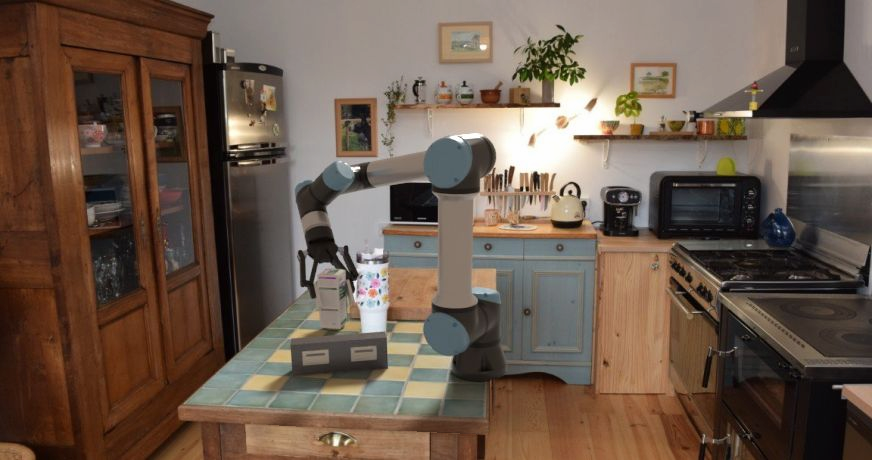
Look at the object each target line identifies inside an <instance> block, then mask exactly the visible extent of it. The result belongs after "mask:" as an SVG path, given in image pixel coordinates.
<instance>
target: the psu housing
mask: <svg viewBox="0 0 872 460" xmlns="http://www.w3.org/2000/svg"><path fill="white" fill-rule="evenodd" d="M290 357H291V358H290V359H291V372H292V377H300V376H301V377H302V376H313V375H325V374H335V373H338V374H339V373H346V372H350V373H351V372H358V371H361V372H362V371H371V370H373V371H374V370H383V369H384V368H385V369H389V363H388V362H389V361H388V359H389V358H388V337H387V332H386V331H374V332H371V331H370V332H362V333H361V332H360V333H348V334H347V333H345V334H334V335H319V336H307V337H306V336H305V337H294V338H293V337H292V338H291V339H290ZM385 369H384V370H385Z"/></svg>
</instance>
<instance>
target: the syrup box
mask: <svg viewBox="0 0 872 460" xmlns="http://www.w3.org/2000/svg"><path fill="white" fill-rule="evenodd" d="M316 276H317V277H316V279H317V286H318V290H319V294H320V299H321V303H322V308H321V311H318V313H319V328H323V329H326V328H331V329H340V330H342V329H341V327H342V326H344V325H345V326H346V324H347V323H348V322H349V313H348V304H347V300H348V296H347V292H346V272H345V270H344V269H336V268H335V267H333V268H325V269H323V271H320V273H318V274H317V275H316ZM345 326H344V327H345Z"/></svg>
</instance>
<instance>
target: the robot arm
mask: <svg viewBox="0 0 872 460" xmlns="http://www.w3.org/2000/svg"><path fill="white" fill-rule="evenodd" d="M496 161H497V152H496V148H495V145H494V144H493V142H492V141H491V140H490V139H489V138H488V137H487V136H486V135H483V134H480V133H478V132H477V133H476V132H469V133H463V134H452V135H446V136H443V137H442V138H438V139H436V140H435V141H433V142H432V143H431V144H430V145H429V146H428V148H427V149H426V150H422V151H417V152H411V153H407V154H402V155H398V156H397V155H395V156H392V157H387V158H386V157H385V158H382V159H377V160H372V161H366V162H365V161H364V162H360V163H356V164H352V165H349V164H348V163H347V162H343V161H341V160H334V161H333V162H332V163H331V164H329V165H327V166H326V168H324V170H323V171H322V172H321V173H320V174H319V175H318V176H317V177H316V178H315V179H305V180H303V181H302V182H299V183H298V184H297V185H296V186H295V188H294V195H295V203H296V206H297V210H298V214H299V219H300V223H301V228H302V231H303V232H302V233H303V235H304V240H305V243H306V244H305V245H306V249H305V250H302V249H299V250H297V255H296V259H297V260H298V263H299V285H300V288H306V289H307V290H308V292H309V297H310V298H311V300H315V306H316V310H317V312H319V311H321V308H322V303H321V299H320V294H319V290H318V283H314V282H315V278H316V276H317V275H316V273H317V270H318V266H319V265H320V264H324V263H326V264H327V263H328V264H329V263H330V265H331V266H333V268H334V269H344V270H345V272H346V292H347V300H348V305H349V307H350V308H351V307H353V306H354V305H355V297H354V294H355V292H356V286H355V283H354V282H356V281H357V280H358V278H359V271H358V269H357V268H356V265H355V263H354V261H353V259H352V257H351V254H350V252H349V250H350V249H349V246H348V245H344V246H339V245H337V242H336V240H335V235H334V233H333V230H332V224H331V220H330V218H329V213H328V210H327V208H328V206H329V205H330V204H331V203H332V202H334V200H336V199H337V198H338V197H339V196H342V195H347V194H350V193H355V192H360V191H365V190H371V189H376V188H381V187H387V186H393V185H399V184H405V183H406V184H407V183H412V182H418V181H425V180H428V181H429V182H430V184H431V193H432V194H433V195H434V196H436V198H437V292H436V293H435V294H434V295H433V296H432V298H431V311H430V313H431V314H429V315H428V316H427V317H426V319H425V320H424V321H423V326H422V327H423V328H422V331H423V336H424V339H425V341H426V343H427V344H428V345H429V346H430V347H431V349H432V350H433V351H434V352H436V353H437V354H439V355H441V356H446V357H453V358H452V361H451V371H452V374H453V375H454V376H456V377H458V378H460V379H462V380H466V381H472V382H488V381H493V380H498V379H500V378H502V377H504V376H505V375H506V374H508V373H507V372H508V361H507V358H506V355H505V353H504V348H503V346H502V340H501V339H502V331H501V330H502V329H501V328H502V323H501V322H502V302H501V294H500V292H499V290H496V289H492V288H490V287H483V286H482V287H481V286H473V254H474V251H473V248H474V245H473V243H474V201H475V200H474V199H475V198H476V197H477V196H478V195H479V194H480V192H481V179H483V178H485V177H487V175H489V174H490V173H491V172H492V171H493V170H494V167H495V165H496ZM338 253H339V254H340V256H341V257H342V259H343V261H344V264H345V265H346V266H345V265H344V264H343V262H342V261H341V260H340V259H339V256H338V255H337V254H338ZM307 256H308V257H309V258H311V259H312V260H313V264H312V267H311V272H310V276H309V278H308V279H309V280H308V279H307V267H306V266H307V265H306V258H307Z"/></svg>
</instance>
